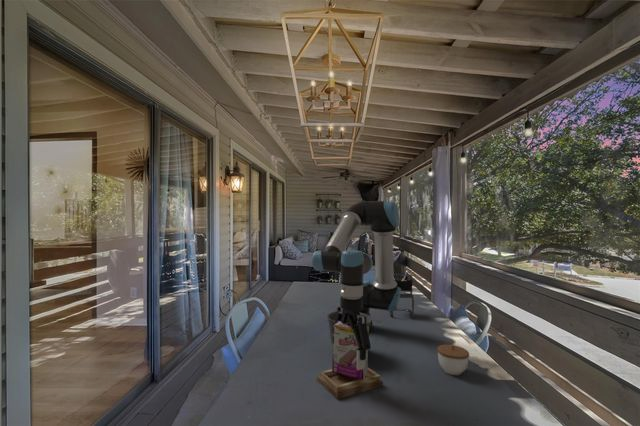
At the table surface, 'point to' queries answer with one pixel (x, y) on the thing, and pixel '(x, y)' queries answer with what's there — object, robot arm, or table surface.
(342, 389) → the wooden tray
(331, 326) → the dark grey pot
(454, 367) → the lidded jar
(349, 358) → the candy bar box
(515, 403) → the table surface
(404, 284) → the chair
